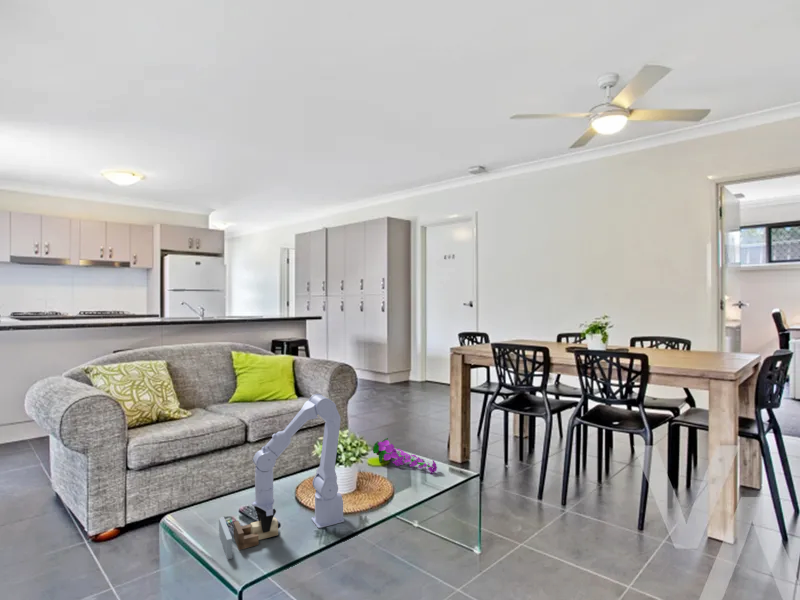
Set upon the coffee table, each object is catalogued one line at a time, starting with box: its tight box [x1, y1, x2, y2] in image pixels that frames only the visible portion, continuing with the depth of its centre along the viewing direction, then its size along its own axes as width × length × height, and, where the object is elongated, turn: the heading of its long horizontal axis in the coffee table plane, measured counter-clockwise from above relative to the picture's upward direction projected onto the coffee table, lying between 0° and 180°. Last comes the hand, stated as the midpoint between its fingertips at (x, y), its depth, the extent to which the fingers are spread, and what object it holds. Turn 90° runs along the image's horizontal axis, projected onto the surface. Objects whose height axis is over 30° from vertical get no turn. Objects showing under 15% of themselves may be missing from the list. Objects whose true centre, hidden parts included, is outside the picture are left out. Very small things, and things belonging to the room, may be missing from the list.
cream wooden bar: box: [250, 516, 279, 541], centre depth 154 cm, size 8×4×4 cm, turn 119°
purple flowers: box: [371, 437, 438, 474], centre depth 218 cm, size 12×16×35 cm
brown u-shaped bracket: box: [233, 520, 260, 551], centre depth 152 cm, size 6×9×5 cm, turn 29°
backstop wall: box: [218, 516, 233, 560], centre depth 148 cm, size 2×16×6 cm, turn 29°
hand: (264, 528), depth 154 cm, fingers open, 4 cm apart
